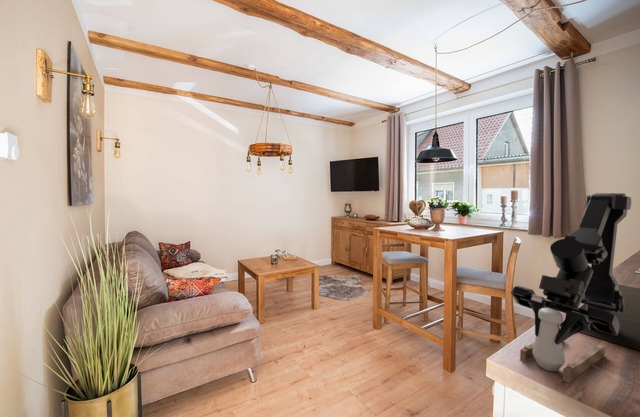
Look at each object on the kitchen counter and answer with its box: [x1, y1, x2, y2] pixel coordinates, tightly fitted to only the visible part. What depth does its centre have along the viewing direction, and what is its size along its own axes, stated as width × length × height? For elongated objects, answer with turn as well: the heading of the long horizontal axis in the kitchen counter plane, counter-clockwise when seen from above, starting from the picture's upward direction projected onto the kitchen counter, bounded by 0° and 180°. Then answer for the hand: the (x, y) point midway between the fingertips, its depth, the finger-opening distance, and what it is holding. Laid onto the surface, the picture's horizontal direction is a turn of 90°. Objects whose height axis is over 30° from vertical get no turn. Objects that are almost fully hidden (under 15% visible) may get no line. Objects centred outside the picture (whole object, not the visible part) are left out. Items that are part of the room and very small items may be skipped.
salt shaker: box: [533, 308, 566, 372], centre depth 63 cm, size 6×6×13 cm
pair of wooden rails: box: [519, 341, 606, 383], centre depth 67 cm, size 20×9×3 cm, turn 119°
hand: (546, 339), depth 63 cm, fingers closed on salt shaker, 3 cm apart
